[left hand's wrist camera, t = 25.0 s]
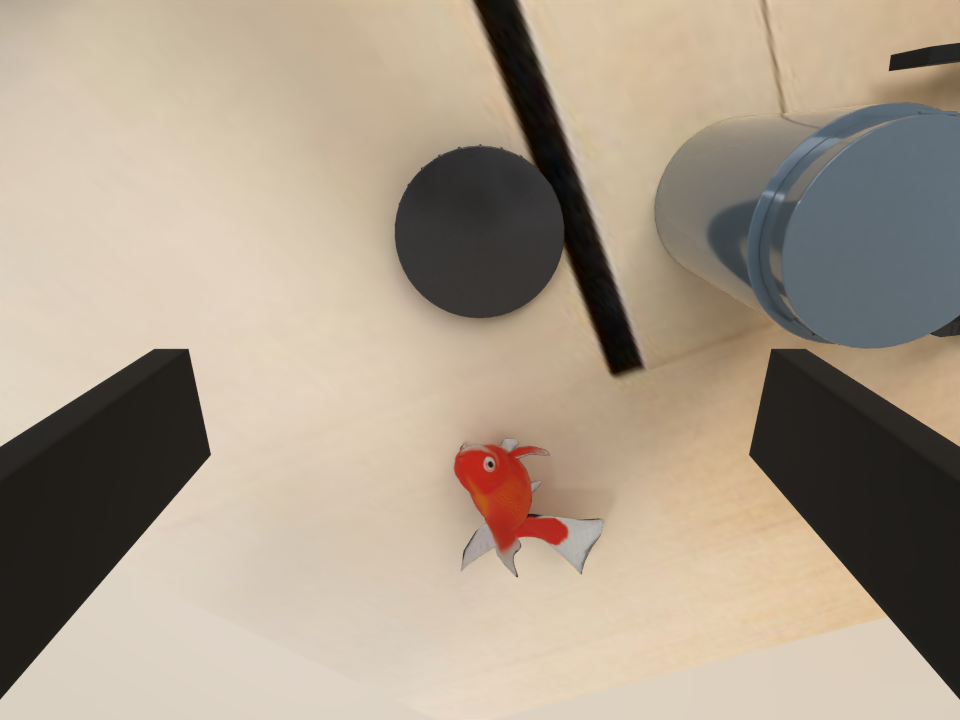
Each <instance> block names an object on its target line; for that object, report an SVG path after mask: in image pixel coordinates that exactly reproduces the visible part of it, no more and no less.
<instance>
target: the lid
mask: <svg viewBox="0 0 960 720" xmlns="http://www.w3.org/2000/svg"><path fill="white" fill-rule="evenodd" d="M522 157H523V156H521V155H519V156H518V155H516V154H514V153H512V152H509V151H506V150H504V149H503V148H502V147H500V148H495V147H490V146H481V144H480V146H469V147H464V148H461V147H458V149H456V150H453V151H450V152H448V153H445V154H443V155H441V154H440V155H438V158H436V159H434V160H433V161H431V162H430V163H429V164H427V165H426V166H424V167H422V168H421V169H422V170H421V171H420V172H419V173H417V175H416V176H415V177H414V178H413V180H412V181H411V182H410V183H409V184H408V187H407V189H406V191H405V192H404V194H403V197H402V199H401V201H400V203H399V208H398V211H397V215H396V223H395V241H396V249H397V253H398V256H399V260H400V262H401V265H402V267H403V270H404V272H405V273H406V275H407V277H408V279H409V280H410V281H411V283H412V284H413V286H414V287H415V288H416V289H417V290H418V291H419V292H420V293H421V294H422V295H423V296H424V297H425V298H426V299H427V300H429V301H430V302H431V303H433V304H434V305H436V306H438V307H439V308H441V309H443V310H445V311H448V312H450V313H453V314H456V315H460V316H465V317H472V318H487V317H494V316H500V315H503V314H506V313H509V312H512V311H514V310H516V309H518V308H520V307H522V306H523V305H525V304H527V303H528V302H530V301H531V300H532V299H533V298H534V297H536V296H537V295H538V294H539V293H540V292H541V291H542V290H543V288H544V287H545V286H546V285H547V283H548V282H549V281H550V279H551V278H552V276H553V274H554V272H555V270H556V268H557V266H558V263H559V261H560V258H561V254H562V250H563V244H564V227H565V225H564V220H563V214H562V210H561V207H560V206H561V205H560V203H559V201H558V198H557V196H556V194H555V192H554V190H553V188H552V187H553V186H552V185H551V184H550V183H549V182H548V181H547V179H546V178H545V177H544V176H543V174H542V173H541V172H540V171H539V169H538V168H536V167H535V166H533V165H532V164H531V163H529V162H528V161H527V160H525V159H524V158H522Z"/></svg>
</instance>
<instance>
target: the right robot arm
mask: <svg viewBox="0 0 960 720" xmlns="http://www.w3.org/2000/svg"><path fill="white" fill-rule="evenodd" d="M955 62H960V43H955V44H947V45H940V46H932V47H927V48H922V49H918V50H913V51H908V52H903V53H899V54H894V55H891V59H890V66H889V71H894V70H901V69H909V68H917V67H924V66H932V65H940V64H948V63H955ZM930 334H932V335H935V336H938V337H946V336H955V335H960V315H959V316H958V317H956V318H955V319H954V320H952V321H951V322H949V323H948V324H946V325H944V326H943V327H941V328H939V329H938V330H936V331H934V332H932V333H930Z"/></svg>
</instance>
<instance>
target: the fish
mask: <svg viewBox="0 0 960 720" xmlns="http://www.w3.org/2000/svg"><path fill="white" fill-rule="evenodd" d="M463 445H464V443H463ZM463 445H462V446H461V449H460V452H459V453H458V454H457V456H456V458H455V465H454V472H455V475H456V476H457V478H458V479H459V480H460V482H461V484H462V485H463V486H464V487H465V488H466V489H467V490H468V491H469V492H470V494H471V497H472V499H473V502H474V504H475V506H476V507H477V509H478V510H479V511H480V513H481V514H482V515H483V516H484V517H485V520H486V523H485V524H484V525H483V526H481V527H480V528H479V529H478V530H477V531H476V532H475V534H474V535H473V537H472V538H471V540H470V542H469V543H468V545H467V546H466V548H465V550H464V552H463V559H462V566H461V571H462V570H463V569H464V568H465V567H466V566H467V565H469V564H470V563H471V562H473V561H474V560H475V559H477V558H478V557H480V556H481V555H483V554H484V553H486V552H487V551H489V550H491V549H492V548H494V547H495V548H496V552H497V555H498V557H499V558H500V559H501V561H502V562H503V563H504V565H505V566H506V567H507V568H508V569H509V570H510V571H511V572H512V573H513V574H514V575H515V576H516V577H518V574H517V572H516V568H515V565H514V560H513V559H514V555H515V553H516V552H518V551H519V549H520V548H521V543H520V541H519V539H518V538H519V537H536V538H539V539H542V540H544V541H546V542H547V543H549V544H550V545H551V546H552V547H553V548H554V549H556V550H557V551H558V552H559V553H560V554H561V555H562V556H563V557H564V558H565V559H566V560H567V561H568V562H569V563H570V564H571V565H573V566H574V567H575V568H576V570H577V571H578V572H579V573H580V574H582V569H583V566H584V563H585V560H586V558H587V556H588V554H589V552H590V550H591V548H592V546H593V545H594V544H595V542H596V541H597V540H598V538H599V537H600V535H601V531H602V527H603V522H604V519H584V520H578V519H570V518H562V517H553V516H544V515H536V514H528V512H529V509H530V506H531V502H532V493H533V492H534V491H535V490H536V488H537V487H538V486H539V485H540V484H541V480H540V481H537V482H533V483H531V481H530V478H529V476H528V473H527V470H526V468H525V467H524V466H523V464H522V463H521V462H520V461H519V458H522V457H524V456H526V455H529V454H535V455H549V456H550V454H549V453H548V452H547V451H546V450H544V449H541V448H537V447H533V446H526V447H519V448H516V449H514V448H515V447H516V446H517V445H518V441H517V440H516V439H504V440H503V443H502V446H498V445H493V444H477V445H472V446H469V447H466V448H463ZM513 449H514V450H513Z"/></svg>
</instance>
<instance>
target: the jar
mask: <svg viewBox="0 0 960 720" xmlns="http://www.w3.org/2000/svg"><path fill="white" fill-rule="evenodd" d="M655 220H656V226H657V230H658V234H659V237H660V239H661V241H662V243H663V245H664V247H665V249H666V250H667V252H668V253H669V254H670V256H671V257H672V258H673V259H674V260H675V261H676V262H677V263H679V264H680V265H681V266H682V267H684V268H686V269H687V270H689V271H691V272H692V273H694V274H695V275H697V276H699V277H700V278H702V279H704V280H705V281H707V282H709V283H710V284H712V285H713V286H715V287H717V288H718V289H720V290H722V291H723V292H725V293H726V294H728V295H730V296H731V297H733V298H735V299H736V300H738V301H740V302H741V303H743V304H744V305H746V306H748V307H749V308H751V309H753V310H754V311H756V312H757V313H759V314H761V315H762V316H764V317H766V318H767V319H769V320H770V321H772V322H774V323H775V324H777V325H779V326H780V327H782V328H784V329H785V330H787V331H789V332H790V333H792V334H794V335H796V336H799V337H801V338H804V339H807V340H811V341H815V342H819V343H829V344H839V345H844V346H848V347H854V348H864V349H865V348H884V347H891V346H896V345H900V344H904V343H908V342H910V341H913V340H916V339H919V338H921V337H924V336H926V335H928V334H930V333H932V332H934V331H936V330H938V329H939V328H941V327H943V326H944V325H946V324H948V323H949V322H951V321H952V320H954V319H955V318H956V317H958V316H959V315H960V114H959V113H957V112H953V111H941V110H939V109H937V108H933V107H930V106H926V105H923V104H916V103H908V102H896V103H881V104H870V105H860V106H850V107H839V108H829V109H819V110H808V111H798V112H788V113H777V114H767V115H757V116H746V117H738V118H732V119H727V120H724V121H721V122H717V123H715V124H713V125H711V126H709V127H707V128H705V129H703V130H702V131H700V132H698V133H697V134H696V135H694V136H693V137H692V138H691V139H689V140H688V141H687V142H686V143H685V144H684V145H683V146H682V147H681V148H680V149H679V150H678V152H677V153H676V154H675V155H674V157H673V158H672V160H671V161H670V163H669V164H668V166H667V168H666V170H665V172H664V174H663V176H662V178H661V181H660V184H659V187H658V191H657V196H656V203H655Z"/></svg>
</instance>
